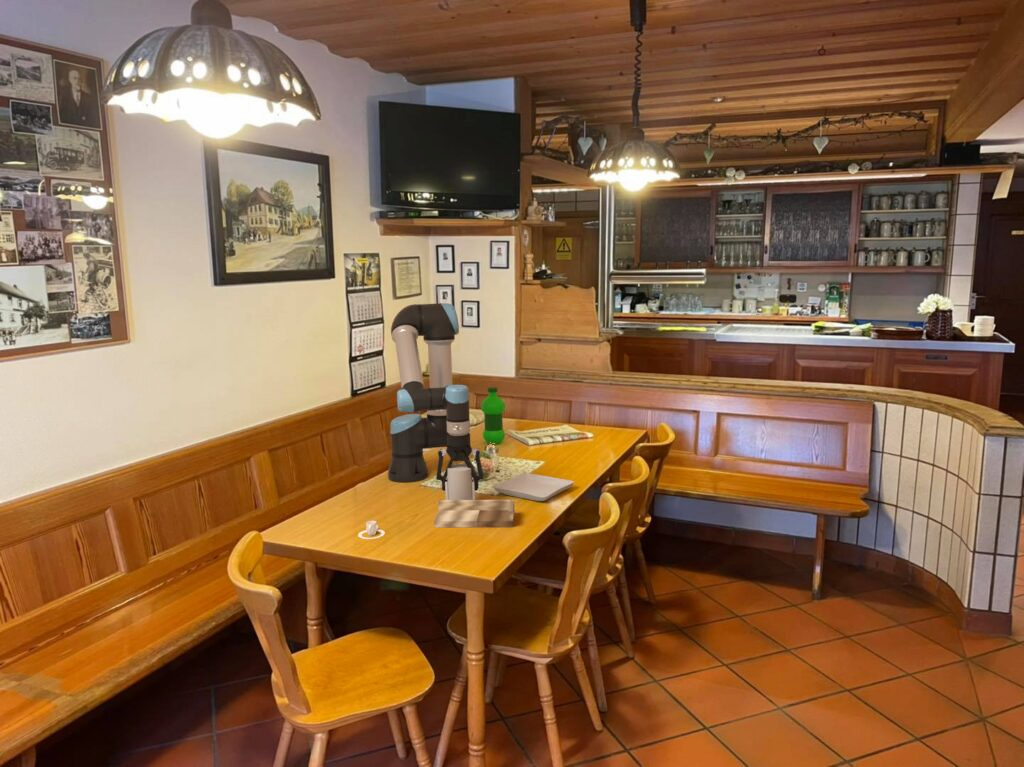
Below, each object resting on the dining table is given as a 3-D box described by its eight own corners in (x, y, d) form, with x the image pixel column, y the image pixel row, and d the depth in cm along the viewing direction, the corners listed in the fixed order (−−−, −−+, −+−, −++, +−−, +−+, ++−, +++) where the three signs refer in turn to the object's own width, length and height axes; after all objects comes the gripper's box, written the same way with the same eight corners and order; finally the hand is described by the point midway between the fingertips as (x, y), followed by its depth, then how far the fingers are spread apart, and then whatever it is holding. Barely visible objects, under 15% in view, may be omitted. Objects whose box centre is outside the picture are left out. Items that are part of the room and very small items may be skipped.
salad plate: (576, 489, 260) (576, 480, 260) (544, 506, 243) (544, 496, 242) (525, 480, 272) (525, 471, 272) (492, 496, 255) (491, 486, 254)
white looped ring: (368, 528, 227) (368, 515, 226) (391, 531, 224) (390, 518, 223) (352, 538, 219) (351, 525, 218) (375, 541, 216) (375, 528, 215)
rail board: (434, 527, 225) (433, 511, 224) (439, 515, 236) (438, 500, 235) (513, 527, 224) (512, 511, 223) (514, 514, 235) (514, 499, 234)
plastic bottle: (505, 445, 323) (504, 389, 319) (481, 446, 324) (479, 389, 320) (506, 440, 333) (504, 385, 329) (483, 440, 334) (481, 386, 329)
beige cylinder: (468, 496, 249) (467, 462, 247) (476, 504, 242) (475, 468, 240) (445, 500, 246) (444, 465, 244) (452, 507, 239) (451, 472, 237)
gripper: (424, 436, 237) (427, 503, 241) (489, 435, 236) (491, 503, 240) (428, 430, 244) (430, 496, 248) (491, 429, 243) (493, 495, 247)
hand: (460, 499), depth 244 cm, fingers closed on beige cylinder, 8 cm apart
